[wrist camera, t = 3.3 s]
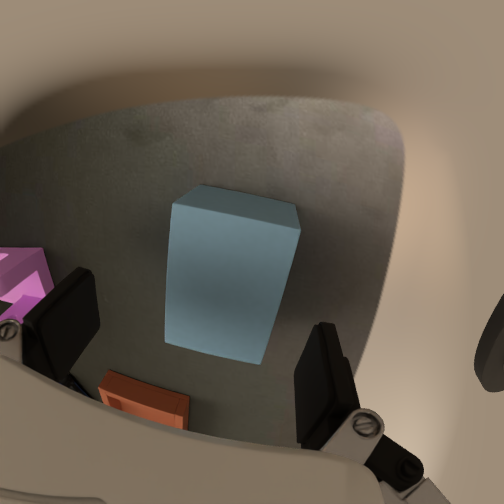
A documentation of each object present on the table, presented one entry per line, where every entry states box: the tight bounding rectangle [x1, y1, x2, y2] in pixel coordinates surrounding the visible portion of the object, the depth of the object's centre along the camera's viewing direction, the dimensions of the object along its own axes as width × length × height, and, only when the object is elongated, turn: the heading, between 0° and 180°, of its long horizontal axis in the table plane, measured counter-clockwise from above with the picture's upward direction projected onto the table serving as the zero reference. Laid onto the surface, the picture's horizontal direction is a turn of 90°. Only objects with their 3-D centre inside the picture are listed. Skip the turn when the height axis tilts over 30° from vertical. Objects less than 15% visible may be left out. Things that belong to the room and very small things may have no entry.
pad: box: [165, 185, 301, 365], centre depth 15 cm, size 6×8×4 cm
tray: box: [98, 370, 190, 431], centre depth 26 cm, size 9×21×3 cm, turn 169°
